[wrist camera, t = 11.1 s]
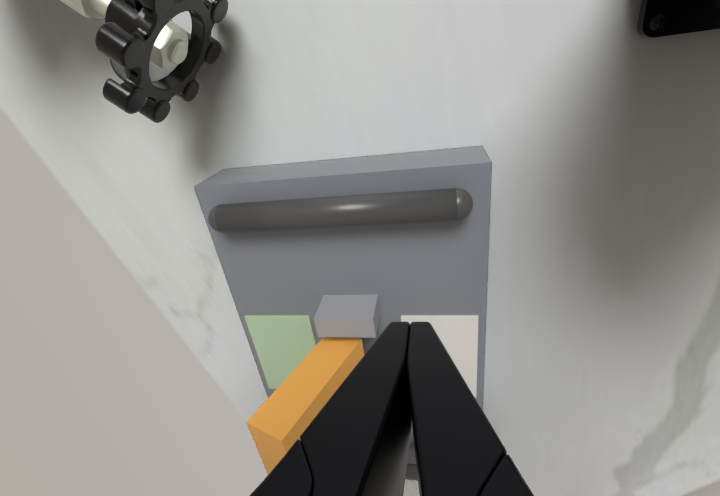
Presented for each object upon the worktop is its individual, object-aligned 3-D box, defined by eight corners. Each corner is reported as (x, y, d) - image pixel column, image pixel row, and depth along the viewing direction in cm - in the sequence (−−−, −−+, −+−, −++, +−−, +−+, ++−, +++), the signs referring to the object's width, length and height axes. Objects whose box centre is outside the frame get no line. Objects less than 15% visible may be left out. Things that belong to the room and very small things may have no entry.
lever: (361, 338, 19) (281, 441, 14) (372, 403, 21) (306, 510, 17) (330, 329, 20) (246, 422, 15) (344, 392, 22) (274, 490, 18)
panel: (482, 145, 18) (500, 176, 13) (475, 436, 28) (484, 507, 23) (223, 169, 21) (168, 201, 16) (301, 425, 31) (281, 487, 26)
